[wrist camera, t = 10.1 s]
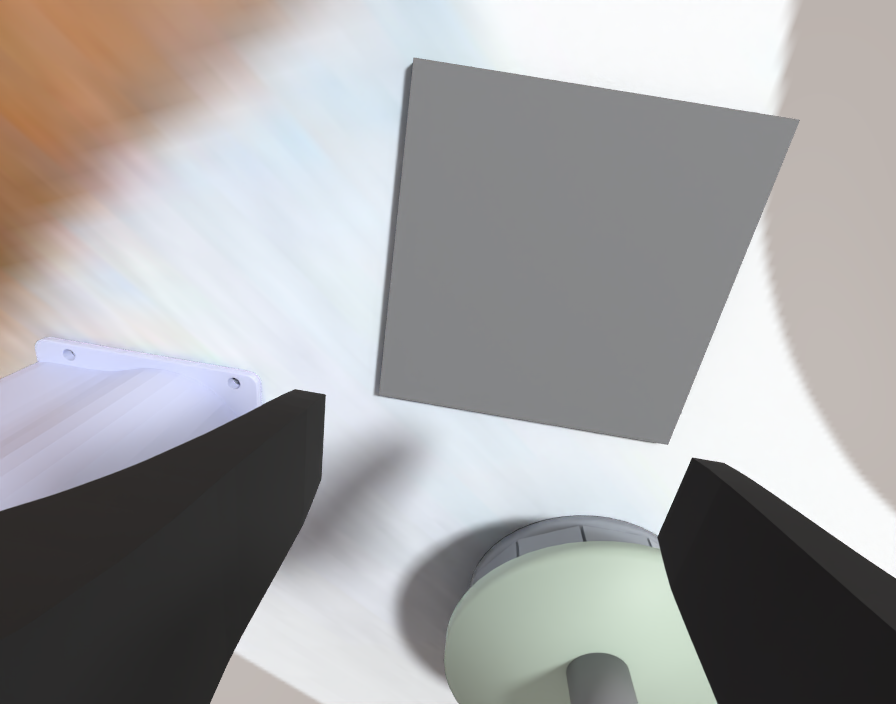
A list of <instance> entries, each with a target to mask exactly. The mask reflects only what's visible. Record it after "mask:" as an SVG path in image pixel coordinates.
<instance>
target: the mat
mask: <svg viewBox="0 0 896 704" xmlns="http://www.w3.org/2000/svg"><path fill="white" fill-rule="evenodd" d="M799 121H800V120H797V119H791V118H785V117H779V116H772V115H766V114H760V113H754V112H748V111H741V110H735V109H729V108H723V107H717V106H710V105H704V104H698V103H692V102H686V101H679V100H673V99H667V98H661V97H655V96H648V95H642V94H636V93H630V92H624V91H618V90H611V89H605V88H599V87H593V86H587V85H580V84H574V83H568V82H562V81H556V80H549V79H543V78H537V77H531V76H525V75H518V74H512V73H506V72H500V71H494V70H487V69H481V68H475V67H469V66H463V65H457V64H450V63H444V62H438V61H432V60H426V59H419V58H414V59H413V68H412V78H411V88H410V97H409V107H408V117H407V126H406V136H405V146H404V155H403V165H402V175H401V185H400V194H399V204H398V214H397V223H396V233H395V243H394V252H393V262H392V272H391V281H390V291H389V301H388V310H387V320H386V330H385V340H384V349H383V359H382V369H381V378H380V388H379V395H381V396H387V397H393V398H399V399H404V400H410V401H416V402H422V403H428V404H434V405H439V406H445V407H451V408H457V409H463V410H469V411H474V412H480V413H486V414H492V415H498V416H503V417H509V418H515V419H521V420H527V421H533V422H538V423H544V424H550V425H556V426H562V427H568V428H573V429H579V430H585V431H591V432H597V433H602V434H608V435H614V436H620V437H626V438H632V439H637V440H643V441H649V442H655V443H661V444H667V445H668V443H669V441H670V439H671V436H672V434H673V431H674V429H675V426H676V424H677V421H678V419H679V416H680V414H681V411H682V409H683V407H684V404H685V402H686V399H687V397H688V394H689V392H690V389H691V387H692V384H693V382H694V379H695V377H696V375H697V372H698V370H699V367H700V365H701V362H702V360H703V357H704V355H705V352H706V350H707V347H708V345H709V342H710V340H711V338H712V335H713V333H714V330H715V328H716V325H717V323H718V320H719V318H720V315H721V313H722V310H723V308H724V306H725V303H726V301H727V298H728V296H729V293H730V291H731V288H732V286H733V283H734V281H735V278H736V276H737V274H738V271H739V269H740V266H741V264H742V261H743V259H744V256H745V254H746V251H747V249H748V246H749V244H750V242H751V239H752V237H753V234H754V232H755V229H756V227H757V224H758V222H759V219H760V217H761V214H762V212H763V210H764V207H765V205H766V202H767V200H768V197H769V195H770V192H771V190H772V187H773V185H774V182H775V180H776V177H777V175H778V172H779V170H780V167H781V165H782V163H783V160H784V158H785V155H786V153H787V150H788V148H789V146H790V143H791V140H792V138H793V136H794V133H795V130H796V128H797V126H798V123H799Z"/></svg>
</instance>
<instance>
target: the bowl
mask: <svg viewBox="0 0 896 704" xmlns="http://www.w3.org/2000/svg"><path fill="white" fill-rule="evenodd" d="M657 537H658V536H657V535H655V534H654V533H652V532H650V531H648V530H646V529H644V528H642V527H640V526H637V525H634V524H631V523H628V522H625V521H621V520H617V519H612V518H606V517H598V516H567V517H559V518H553V519H548V520H544V521H541V522H537V523H534V524H531V525H528V526H526V527H524V528H521V529H519V530H517V531H515V532H513V533H511V534H510V535H508V536H506V537H505V538H503V539H502V540H501V541H499V542H498V543H496V544H495V545H494V546H493V547H492V548H491V549H490V550H489V551H488V552H487V553H486V554H485V555H484V557H483V558H482V559H481V561H480V562H479V563H478V565H477V567H476V569H475V571H474V573H473V576H472V579H471V582H470V587H469V589H470V588H471V587H472V586H473V585H474V584H475V583H476V582H477V581H478V580H480V579H481V578H482V577H484V576H485V575H486V574H488V573H489V572H490V571H492V570H493V569H495V568H497V567H499V566H500V565H502V564H504V563H506V562H508V561H510V560H512V559H514V558H517V557H519V556H522V555H524V554H526V553H529V552H533V551H536V550H539V549H543V548H546V547H551V546H556V545H561V544H567V543H575V542H587V541H616V542H625V543H634V544H640V545H645V546H650V547H654V548H659V549H660V546H659V542H658V538H657Z"/></svg>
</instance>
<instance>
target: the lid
mask: <svg viewBox="0 0 896 704" xmlns="http://www.w3.org/2000/svg"><path fill="white" fill-rule="evenodd" d="M444 666H445V675H446V678H447V681H448V685H449V687H450V689H451V691H452V693H453V695H454V697H455V699H456V700H457V702H458V703H459V704H717V701H716V699H715V696H714V694H713V692H712V689H711V687H710V684H709V682H708V679H707V677H706V675H705V672H704V670H703V667H702V665H701V663H700V660H699V658H698V655H697V653H696V650H695V648H694V646H693V643H692V641H691V638H690V636H689V634H688V631H687V629H686V626H685V624H684V621H683V619H682V616H681V614H680V611H679V609H678V606H677V604H676V601H675V599H674V596H673V594H672V591H671V588H670V585H669V581H668V578H667V574H666V570H665V567H664V563H663V559H662V555H661V551H660V549H659V548H654V547H650V546H645V545H640V544H634V543H625V542H616V541H587V542H575V543H567V544H561V545H556V546H551V547H546V548H543V549H539V550H536V551H533V552H529V553H526V554H524V555H522V556H519V557H517V558H514V559H512V560H510V561H508V562H506V563H504V564H502V565H500V566H499V567H497V568H495V569H493V570H492V571H490V572H489V573H488V574H486V575H485V576H484V577H482V578H481V579H480V580H478V581H477V582H476V583H475V584H474V585H473V586H472V587H471V588H470V589H469V590H468V591H467V592H466V593H465V595H464V596H463V597H462V599H461V600H460V601H459V603H458V604H457V606H456V608H455V610H454V612H453V614H452V616H451V618H450V621H449V624H448V628H447V633H446V644H445V655H444Z"/></svg>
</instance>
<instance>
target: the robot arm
mask: <svg viewBox="0 0 896 704" xmlns="http://www.w3.org/2000/svg"><path fill="white" fill-rule="evenodd" d="M35 351H36V355H37V360H38V362H36V363H34V364H32V365H30V366H27V367H25V368H23V369H21V370H19V371H16V372H14V373H12V374H10V375H8V376H5V377H3V378H1V379H0V704H210V702H211V699H212V698H213V695H214V693H215V691H216V689H217V686H218V684H219V682H220V680H221V677H222V675H223V673H224V671H225V668H226V666H227V664H228V662H229V660H230V658H231V656H232V654H233V652H234V650H235V648H236V646H237V644H238V642H239V640H240V638H241V636H242V634H243V633H244V631H245V629H246V627H247V625H248V624H249V622H250V620H251V618H252V616H253V615H254V613H255V611H256V609H257V607H258V606H259V604H260V602H261V600H262V598H263V597H264V595H265V593H266V591H267V589H268V588H269V586H270V584H271V582H272V580H273V579H274V577H275V575H276V573H277V571H278V570H279V568H280V566H281V564H282V562H283V561H284V559H285V557H286V555H287V553H288V551H289V550H290V548H291V546H292V544H293V542H294V540H295V539H296V537H297V535H298V533H299V531H300V529H301V527H302V526H303V524H304V521H305V519H306V516H307V514H308V511H309V509H310V507H311V504H312V502H313V499H314V496H315V494H316V491H317V489H318V486H319V484H320V481H321V476H322V456H323V436H324V417H325V397H326V395H325V394H319V393H314V392H308V391H302V390H296V389H295V390H292V391H290V392H288V393H285V394H283V395H281V396H279V397H277V398H275V399H273V400H271V401H269V402H267V403H265V404H263V405H262V386H261V379H260V378H259V376H258V375H256V374H255V373H254V372H251V371H246V370H240V369H235V368H229V367H223V366H217V365H211V364H206V363H200V362H194V361H188V360H182V359H176V358H171V357H165V356H159V355H153V354H147V353H141V352H136V351H130V350H124V349H118V348H112V347H106V346H101V345H95V344H89V343H83V342H77V341H72V340H66V339H60V338H54V337H45V338H43V339H40V340H38V341H37V342H36V344H35ZM71 351H72V352H73V353H74V354H75V356H74V355H73V354H72V352H71ZM233 378H236V379H238V381H239V382H240V385H238V384H236V383H235V382H234V381H233ZM657 538H658V542H659V546H660V551H661V555H662V559H663V563H664V567H665V570H666V574H667V578H668V581H669V585H670V588H671V591H672V594H673V596H674V599H675V601H676V604H677V606H678V609H679V611H680V614H681V616H682V619H683V621H684V624H685V626H686V629H687V631H688V634H689V636H690V638H691V641H692V643H693V646H694V648H695V650H696V653H697V655H698V658H699V660H700V663H701V665H702V667H703V670H704V672H705V675H706V677H707V679H708V682H709V684H710V687H711V689H712V692H713V694H714V696H715V699H716V701H717V704H896V578H894V577H893V576H891V575H890V574H888V573H887V572H885V571H884V570H882V569H881V568H879V567H878V566H876V565H875V564H873V563H872V562H870V561H869V560H867V559H866V558H864V557H863V556H861V555H860V554H858V553H857V552H855V551H854V550H852V549H851V548H850V547H848V546H847V545H845V544H844V543H842V542H841V541H839V540H838V539H837V538H835V537H834V536H832V535H831V534H829V533H828V532H827V531H825V530H824V529H822V528H821V527H819V526H818V525H816V524H815V523H814V522H812V521H811V520H809V519H808V518H807V517H805V516H804V515H802V514H801V513H799V512H798V511H797V510H795V509H794V508H792V507H791V506H789V505H788V504H786V503H785V502H784V501H782V500H781V499H779V498H778V497H776V496H775V495H774V494H772V493H771V492H769V491H768V490H766V489H765V488H763V487H762V486H760V485H759V484H757V483H756V482H754V481H753V480H751V479H750V478H748V477H747V476H745V475H744V474H742V473H740V472H739V471H737V470H735V469H734V468H732V467H730V466H728V465H726V464H725V463H721V462H715V461H709V460H703V459H697V458H692V459H691V462H690V464H689V466H688V468H687V471H686V473H685V475H684V478H683V480H682V482H681V484H680V487H679V489H678V491H677V494H676V496H675V498H674V501H673V503H672V505H671V507H670V510H669V512H668V514H667V517H666V519H665V521H664V523H663V526H662V528H661V530H660V533H659V535H658V537H657Z"/></svg>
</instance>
